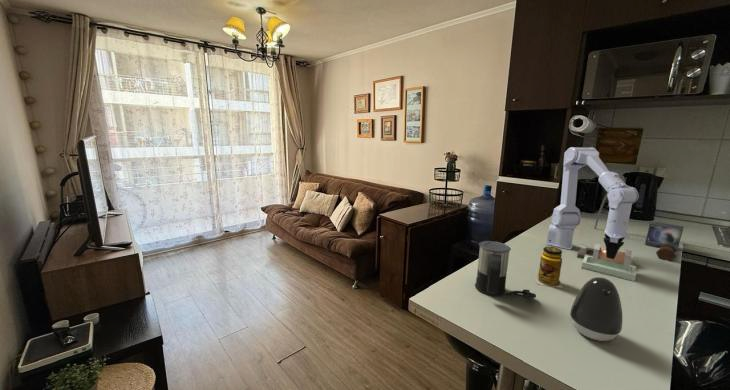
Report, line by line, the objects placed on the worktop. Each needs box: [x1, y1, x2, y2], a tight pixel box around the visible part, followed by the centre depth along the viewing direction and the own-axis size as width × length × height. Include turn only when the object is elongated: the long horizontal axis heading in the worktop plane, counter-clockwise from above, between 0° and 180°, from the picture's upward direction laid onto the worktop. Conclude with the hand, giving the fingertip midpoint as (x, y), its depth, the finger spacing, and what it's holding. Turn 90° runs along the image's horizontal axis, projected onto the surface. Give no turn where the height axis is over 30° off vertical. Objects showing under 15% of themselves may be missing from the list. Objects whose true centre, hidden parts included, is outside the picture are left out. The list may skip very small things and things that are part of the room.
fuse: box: [592, 243, 633, 269], centre depth 108 cm, size 10×5×5 cm, turn 49°
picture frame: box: [644, 220, 684, 253], centre depth 133 cm, size 11×6×10 cm, turn 41°
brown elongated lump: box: [655, 243, 678, 262], centre depth 124 cm, size 6×5×15 cm
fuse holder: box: [576, 243, 634, 266], centre depth 119 cm, size 17×11×4 cm, turn 49°
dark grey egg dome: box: [569, 276, 623, 342], centre depth 73 cm, size 10×10×15 cm
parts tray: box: [581, 255, 637, 282], centre depth 110 cm, size 15×9×2 cm, turn 49°
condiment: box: [533, 245, 564, 289], centre depth 100 cm, size 7×8×12 cm
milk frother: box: [474, 240, 537, 299], centre depth 92 cm, size 14×16×15 cm
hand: (610, 256), depth 109 cm, fingers closed on fuse, 4 cm apart
